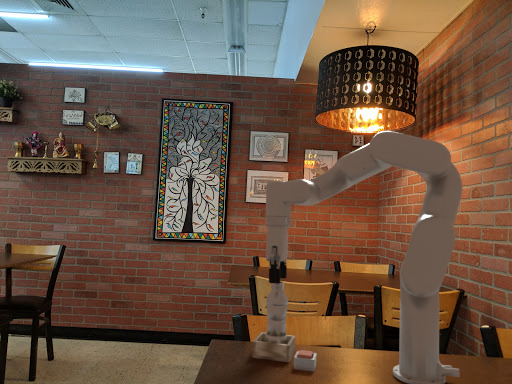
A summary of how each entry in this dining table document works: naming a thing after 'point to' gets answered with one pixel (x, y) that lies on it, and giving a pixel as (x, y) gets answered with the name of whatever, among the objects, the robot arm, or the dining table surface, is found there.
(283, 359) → the bottle caddy
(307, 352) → the button
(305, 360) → the button housing
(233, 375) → the dining table surface
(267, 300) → the plastic bottle
